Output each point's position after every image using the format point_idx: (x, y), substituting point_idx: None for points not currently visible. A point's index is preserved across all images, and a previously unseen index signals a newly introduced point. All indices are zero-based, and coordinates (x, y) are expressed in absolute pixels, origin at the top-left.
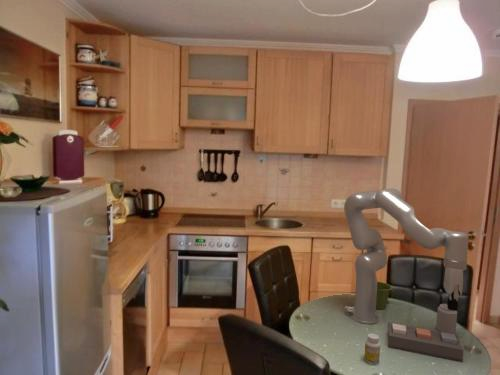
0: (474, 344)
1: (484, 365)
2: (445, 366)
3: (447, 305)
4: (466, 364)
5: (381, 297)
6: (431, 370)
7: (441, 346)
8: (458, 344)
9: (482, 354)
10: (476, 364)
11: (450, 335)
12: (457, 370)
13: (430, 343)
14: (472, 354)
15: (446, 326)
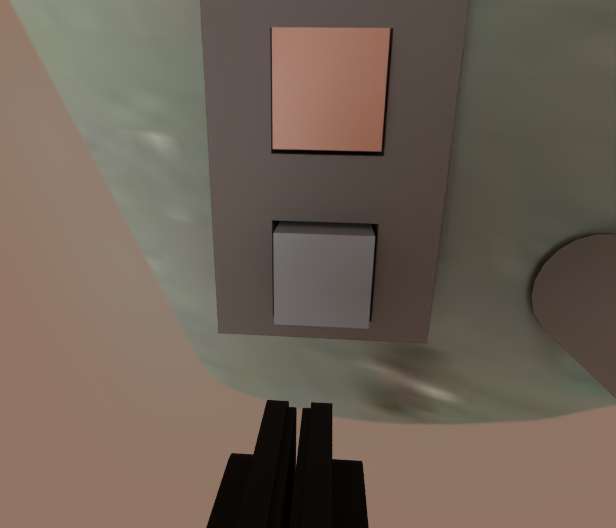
0: (465, 404)
1: (255, 390)
2: (154, 205)
3: (320, 427)
4: None
5: None
6: (73, 120)
7: (214, 208)
8: None
9: (364, 411)
10: (249, 359)
11: (338, 296)
12: (145, 258)
13: (208, 134)
14: (346, 367)
15: (564, 303)
